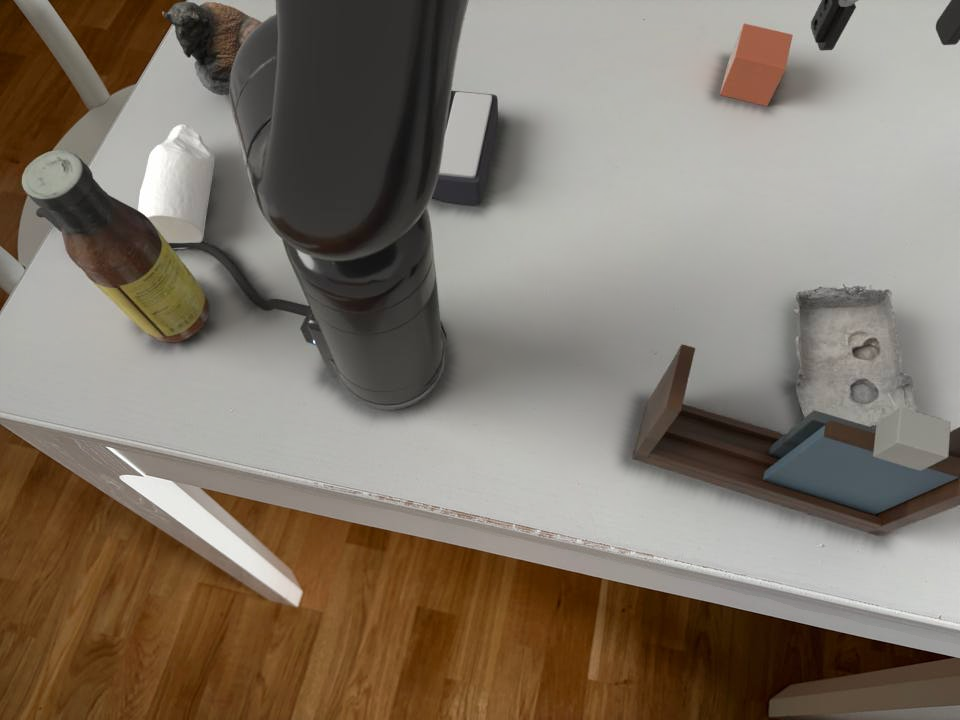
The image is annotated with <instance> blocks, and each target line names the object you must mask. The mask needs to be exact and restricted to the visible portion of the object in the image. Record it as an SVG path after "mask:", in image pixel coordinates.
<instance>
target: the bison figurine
mask: <svg viewBox="0 0 960 720" xmlns="http://www.w3.org/2000/svg"><path fill="white" fill-rule="evenodd" d="M162 16H163V17H164V18H165V19H166V20H168V21H169V22H170V24H171V25H173V26H174V32H175V36H176V40H177V41H178V43H179V46H180V47H181V48H182V51H183V53H184V55H185V56H186V57H187V58H188V59H189V58H191V57H192V58H194V59H195V62H194V69H195V73H196V76H197V78H198V80H199V81H200V83H201V85H202V86H203V87H204V88H206V90H208V91H209V92H211V93H213V94H216V95H219V96H227V95H229V80H230V73H231V69H232V65H233V62H234V59H235V57H236V54H237V52H238V50H239V48H240V47H241V45H242V44H243V42H244V41H245V39H246V38H247V37H248V35H249V34H250V33H251V32H252V31H253V30H254V29H255V28H256V27H257V26H259V25H260V24H261V23H262V22H263V21H261V20H259V19H257V18H255V17H252V16H250V15H248V14H246V13H245V12H243V11H241V10H240V9H237V8H235V7H233V6H230V5H227V4H224V3H220V2H216V1H205V2H204V3H201V4H200V5H198V4H197V3H196V2H191V1H181V2H180V1H179V2H176V3H174V4H173V5H172V6H171V7H170V9H169V10H168V12H165V11H162Z"/></svg>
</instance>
